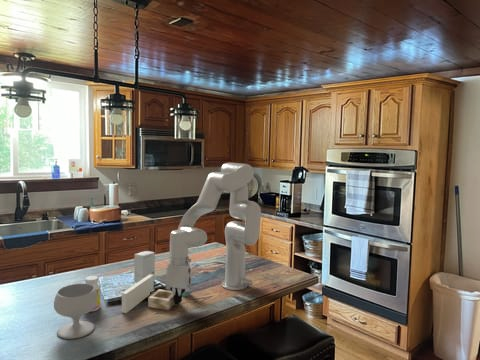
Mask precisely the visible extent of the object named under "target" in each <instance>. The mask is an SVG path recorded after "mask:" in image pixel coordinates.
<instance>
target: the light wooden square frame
mask: <svg viewBox="0 0 480 360" xmlns="http://www.w3.org/2000/svg"><path fill="white" fill-rule="evenodd" d="M147 300H148V301H147V302H148V303H147V304H148V305H147V307H148V308H153V309H159V310H165V311H169V310H170V309H171V308H172V307H173V306H174V305H175V304H174V295H173V293H172V291H171V290H169V289H167V290H165V289H159V288H158V289H157V290H156V291H155V292H152V293H151V294H150V295H149V296H147Z"/></svg>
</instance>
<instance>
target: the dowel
mask: <svg viewBox="0 0 480 360" xmlns="http://www.w3.org/2000/svg"><path fill="white" fill-rule="evenodd" d="M190 291H191V290H190ZM190 291H188V292H184V293H182V298H183V297H184V298H188V297H189V296H190V294H191V292H190Z"/></svg>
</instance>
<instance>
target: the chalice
mask: <svg viewBox="0 0 480 360" xmlns="http://www.w3.org/2000/svg"><path fill="white" fill-rule="evenodd" d="M97 300H98V298H97V293H96V290H95V289H94V287H93V286H92V285H89V284H85V283H75V284H73V283H72V284H68V285H66V286H63V287H61V288H60V289H58V291H57V293H56V295H55V296H54V300H53V309H54V311H55V312H56V313H57V314H58V315H59V316H62V317H67V318H70V319H72V322H69V323H66V324H64V325H61V326H60V327H59V329H58V330H56V331H57V332H56V335H57V336H58V337H60V338H62V339H64V340H65V339H67V340H68V339H69V340H73V339H74V340H75V339H79V338H82V337H85V336H88V335H89V334H91V333H93V331H94V330H95V328H96V327H95V326H96V325H95V324H94V323H92V322H91V321H87V320H80V319H81V317H83V316H84V315H86V314H88V313H90V311H91V310H93V308H94V307H95V306H96V304H97Z"/></svg>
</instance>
